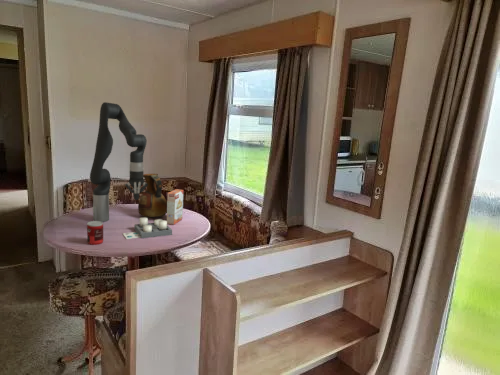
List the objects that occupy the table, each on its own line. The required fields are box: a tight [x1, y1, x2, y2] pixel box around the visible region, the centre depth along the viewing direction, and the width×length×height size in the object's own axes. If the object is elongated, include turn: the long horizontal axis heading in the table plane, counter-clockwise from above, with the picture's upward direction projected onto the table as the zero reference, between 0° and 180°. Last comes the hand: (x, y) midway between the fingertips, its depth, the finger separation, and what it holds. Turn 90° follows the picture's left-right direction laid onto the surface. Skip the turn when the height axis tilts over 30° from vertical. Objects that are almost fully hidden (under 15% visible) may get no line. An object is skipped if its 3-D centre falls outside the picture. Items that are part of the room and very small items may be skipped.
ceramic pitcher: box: [137, 173, 167, 218], centre depth 240 cm, size 20×20×30 cm
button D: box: [159, 219, 168, 230], centre depth 210 cm, size 5×5×5 cm
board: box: [133, 222, 173, 239], centre depth 212 cm, size 18×17×3 cm
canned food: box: [86, 220, 104, 246], centre depth 189 cm, size 8×8×11 cm
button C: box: [143, 225, 152, 232], centre depth 206 cm, size 5×5×5 cm
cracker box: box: [166, 188, 184, 226], centre depth 233 cm, size 14×6×21 cm, turn 168°
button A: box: [138, 216, 149, 227], centre depth 213 cm, size 5×5×5 cm
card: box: [122, 231, 142, 240], centre depth 204 cm, size 9×9×1 cm
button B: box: [153, 218, 162, 226], centre depth 218 cm, size 5×5×5 cm
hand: (136, 199), depth 203 cm, fingers closed
